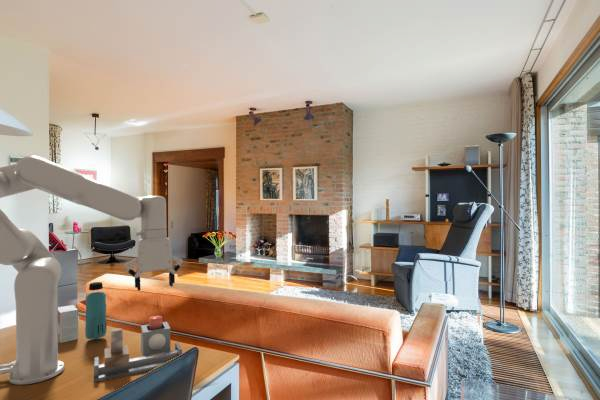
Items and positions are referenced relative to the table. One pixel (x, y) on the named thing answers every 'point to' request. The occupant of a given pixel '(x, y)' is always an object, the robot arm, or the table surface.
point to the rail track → (135, 365)
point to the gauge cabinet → (155, 339)
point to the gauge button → (155, 322)
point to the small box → (67, 323)
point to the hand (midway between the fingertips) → (155, 287)
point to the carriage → (116, 351)
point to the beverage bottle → (95, 312)
